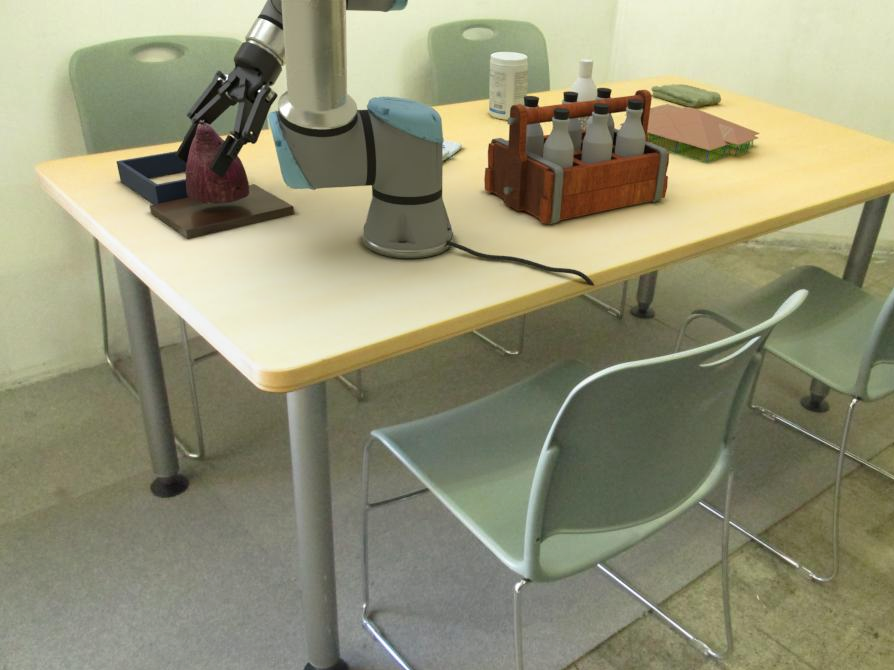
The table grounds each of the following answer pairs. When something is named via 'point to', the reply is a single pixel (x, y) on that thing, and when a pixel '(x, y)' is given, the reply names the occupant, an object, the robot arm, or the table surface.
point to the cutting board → (220, 212)
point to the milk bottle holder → (577, 157)
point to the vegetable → (204, 180)
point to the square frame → (146, 167)
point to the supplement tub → (507, 82)
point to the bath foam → (585, 86)
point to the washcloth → (686, 95)
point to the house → (697, 130)
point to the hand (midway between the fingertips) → (198, 166)
